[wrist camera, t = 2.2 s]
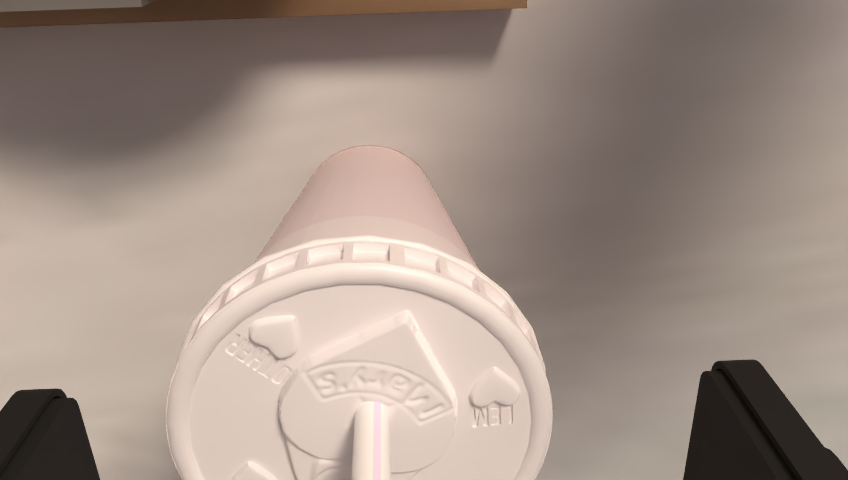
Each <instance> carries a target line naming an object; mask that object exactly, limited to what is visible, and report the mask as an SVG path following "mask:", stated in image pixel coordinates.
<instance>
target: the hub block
mask: <svg viewBox="0 0 848 480" xmlns="http://www.w3.org/2000/svg"><path fill="white" fill-rule="evenodd" d="M516 8H527V0H0V27H25V26H53V25H80V24H107V23H134V22H162V21H189V20H216V19H243V18H271V17H298V16H325V15H352V14H380V13H407V12H434V11H461V10H489V9H516Z"/></svg>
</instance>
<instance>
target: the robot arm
mask: <svg viewBox="0 0 848 480" xmlns="http://www.w3.org/2000/svg"><path fill="white" fill-rule="evenodd" d="M0 480H100V478H99V474H98V471H97V467H96V464H95V460H94V457H93V453H92V450H91V447H90V443H89V440H88V436H87V433H86V429H85V426H84V422H83V419H82V416H81V412H80V409H79V406H78V403H77V401H76V400H75V399H74V398H67V397H66V395H65V393H64V392H63V391H62V390H61V389H35V390H20V391H17V392H16V393H15V394H14V395H13V396H12V397H11V398H10V399H9V401H8V402H7V403H6V405H5V406H4V407H3V408H2V410H1V411H0ZM683 480H848V470H847V469H846V468H845V466H844V465H843V464H842V462H841V461H840V460H839V458H838V457H837V456H836V455H835V454H834V453H833V452H832V451H831V450H829V449H827V448H825V447H824V446H823V445H822V444H821V442H820V441H819V440H818V438H817V437H816V436H815V434H814V433H813V432H812V431H811V429H810V428H809V427H808V425H807V424H806V423H805V421H804V420H803V419H802V417H801V416H800V415H799V413H798V412H797V411H796V409H795V408H794V407H793V405H792V404H791V403H790V402H789V400H788V399H787V398H786V396H785V395H784V394H783V392H782V391H781V390H780V388H779V387H778V386H777V384H776V383H775V382H774V380H773V379H772V378H771V376H770V375H769V374H768V373H767V371H766V370H765V369H764V367H763V366H762V365H761V364H760V363H759V362H758V361H756V360H731V361H717V362H715V363H714V365H713V366H712V370H711V371H705V372H703V373H702V375H701V378H700V383H699V389H698V395H697V401H696V406H695V412H694V418H693V424H692V430H691V436H690V442H689V448H688V454H687V460H686V466H685V472H684V478H683Z"/></svg>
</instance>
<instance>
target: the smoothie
mask: <svg viewBox="0 0 848 480" xmlns="http://www.w3.org/2000/svg"><path fill="white" fill-rule="evenodd" d="M545 372H546V368H545V364H544V361H543V358H542V355H541V352H540V349H539V346H538V343H537V340H536V337H535V333H534V330H533V328H532V326H531V325H530V324H529V322H528V321H527V319H526V318H525V317H524V315H523V314H522V312H521V311H520V310H519V308H518V307H517V305H516V304H515V303H514V301H513V300H512V298H511V297H510V296H509V294H508V293H507V292H506V291H505V290H504V289H502V288H501V287H500V286H499V285H497V284H496V283H495V282H493V281H492V280H491V279H490V278H488V277H487V276H486V275H484V274H483V273H482V272H481V271H479V269H478V267H477V265H476V264H475V262H474V260H473V258H472V256H471V255H470V253H469V251H468V249H467V248H466V246H465V244H464V242H463V241H462V239H461V237H460V235H459V233H458V232H457V230H456V228H455V226H454V225H453V223H452V221H451V219H450V218H449V216H448V214H447V212H446V210H445V209H444V207H443V205H442V203H441V202H440V200H439V198H438V196H437V195H436V193H435V191H434V189H433V187H432V186H431V184H430V182H429V180H428V179H427V177H426V175H425V174H424V173H423V171H422V170H421V169H420V168H419V167H418V166H417V165H416V164H415V163H414V162H413V161H412V160H410V159H409V158H408V157H406V156H404V155H403V154H401V153H399V152H397V151H394V150H391V149H388V148H384V147H378V146H360V147H354V148H350V149H347V150H344V151H341V152H339V153H337V154H335V155H334V156H332V157H330V158H329V159H328V160H326V161H325V162H324V163H323V164H322V165H321V166H320V167H319V168H318V169H317V170H316V172H315V173H314V174H313V176H312V177H311V179H310V180H309V182H308V183H307V185H306V186H305V188H304V189H303V191H302V192H301V194H300V195H299V197H298V198H297V200H296V201H295V203H294V204H293V206H292V207H291V209H290V210H289V212H288V213H287V215H286V216H285V218H284V219H283V221H282V222H281V224H280V225H279V227H278V228H277V230H276V231H275V233H274V234H273V236H272V237H271V239H270V240H269V242H268V243H267V245H266V246H265V248H264V249H263V251H262V252H261V254H260V255H259V257H258V258H257V260H256V261H255V263H254V264H252V265H251V266H249V267H248V268H246V269H245V270H243V271H242V272H240V273H239V274H237V275H236V276H234V277H233V278H231V279H230V280H228V281H227V282H225V283H224V284H223V285H222V286H221V287H220V289H219V290H218V291H217V292H216V293H215V294H214V296H213V297H212V298H211V299H210V300H209V301H208V303H207V304H206V305H205V306H204V307H203V308H202V310H201V311H200V312H199V313H198V314H197V316H196V317H195V318H194V319H193V322H192V324H191V326H190V329H189V331H188V334H187V336H186V338H185V341H184V343H183V346H182V348H181V350H180V353H179V355H178V357H177V365H176V369H175V371H174V374H173V377H172V380H171V383H170V387H169V391H168V397H167V403H166V419H165V420H166V433H167V439H168V444H169V449H170V452H171V455H172V458H173V461H174V464H175V467H176V469H177V471H178V473H179V475H180V477H181V479H182V480H535V479H536V477H537V475H538V474H539V471H540V469H541V467H542V465H543V462H544V460H545V457H546V454H547V451H548V448H549V443H550V438H551V433H552V421H553V410H552V398H551V393H550V387H549V383H548V380H547V377H546V374H545Z"/></svg>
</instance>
